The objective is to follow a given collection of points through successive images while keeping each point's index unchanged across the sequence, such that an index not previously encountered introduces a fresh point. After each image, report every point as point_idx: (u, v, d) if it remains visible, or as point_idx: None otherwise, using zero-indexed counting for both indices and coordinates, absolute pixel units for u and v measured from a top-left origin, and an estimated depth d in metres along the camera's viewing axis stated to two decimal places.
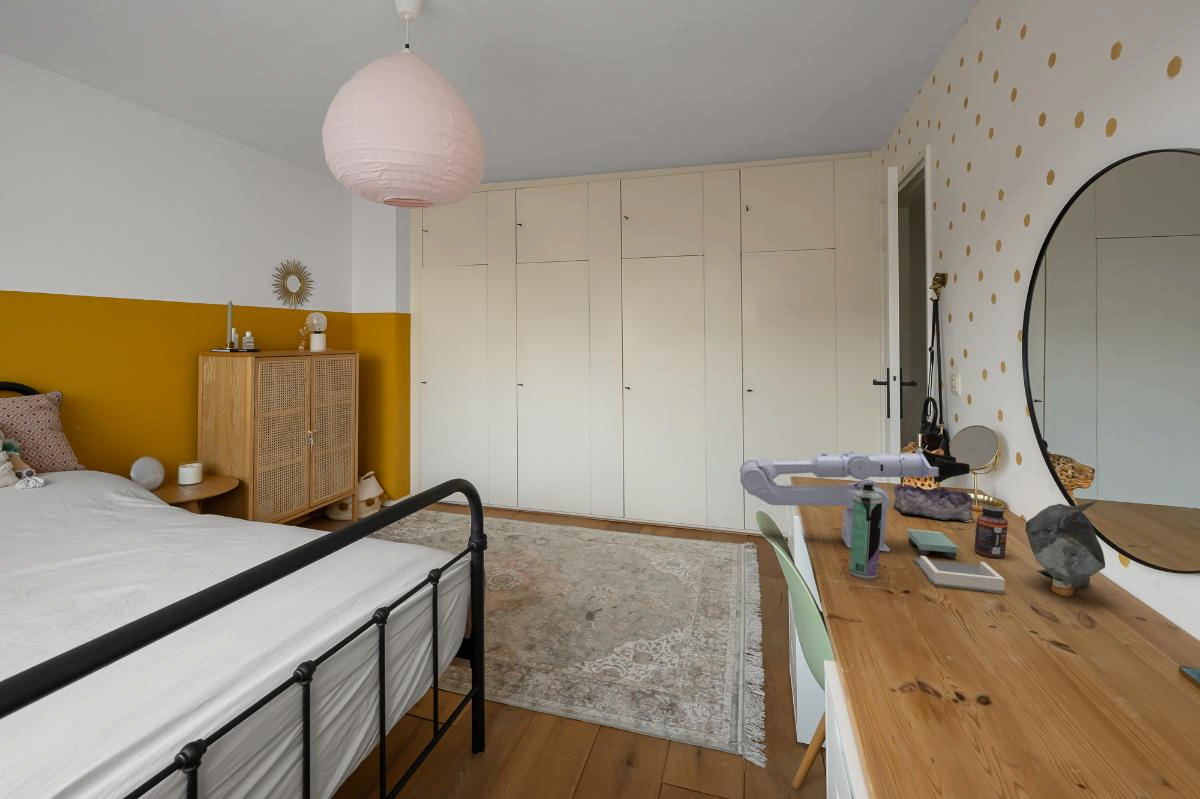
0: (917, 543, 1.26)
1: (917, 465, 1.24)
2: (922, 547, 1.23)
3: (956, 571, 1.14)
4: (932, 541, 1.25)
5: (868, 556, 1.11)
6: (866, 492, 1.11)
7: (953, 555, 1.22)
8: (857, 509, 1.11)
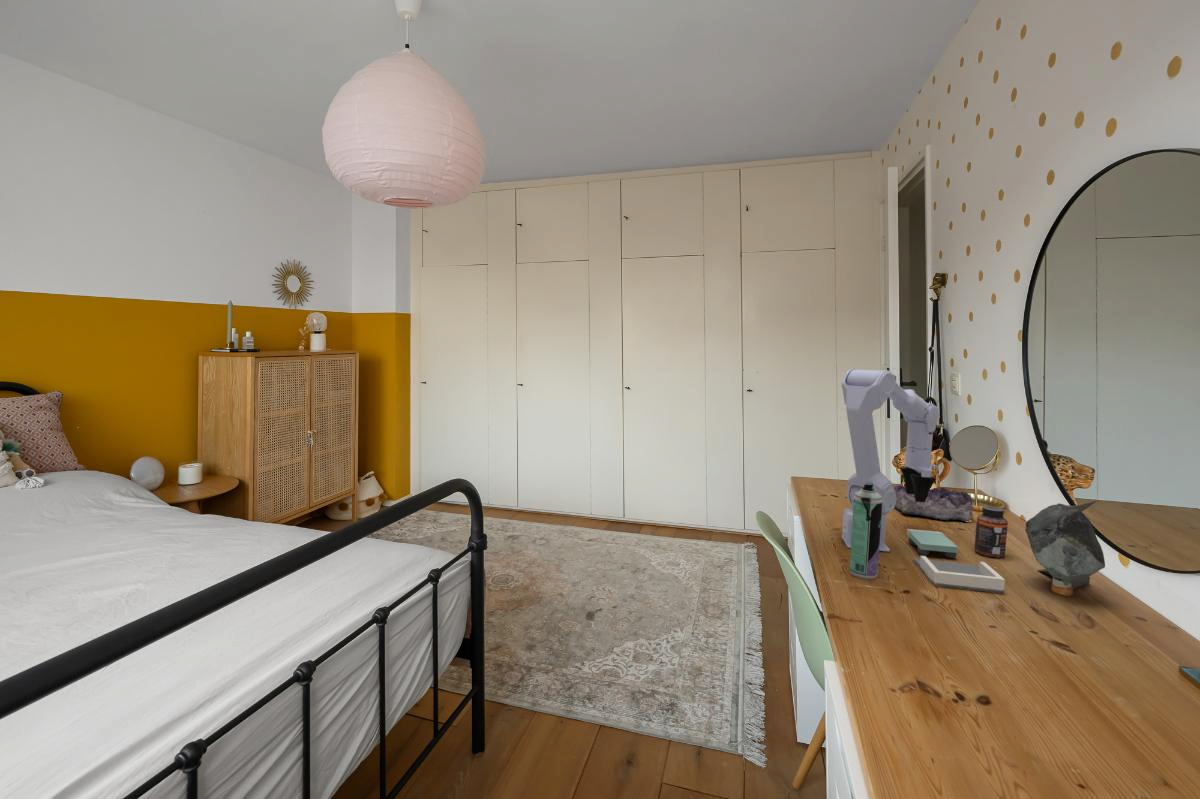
0: (917, 543, 1.26)
1: (923, 462, 1.36)
2: (922, 547, 1.23)
3: (956, 571, 1.14)
4: (932, 541, 1.25)
5: (868, 556, 1.11)
6: (866, 492, 1.11)
7: (953, 555, 1.22)
8: (857, 509, 1.11)
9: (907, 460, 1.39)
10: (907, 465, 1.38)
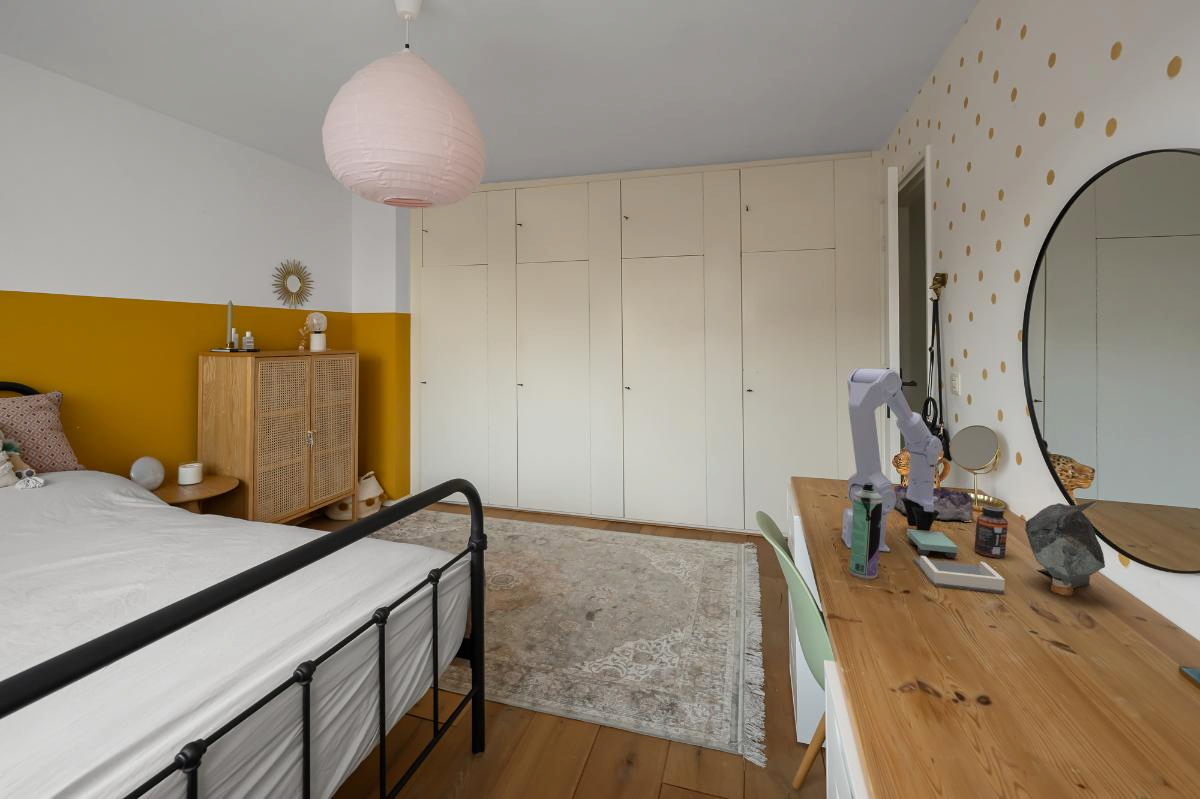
0: (917, 543, 1.26)
1: (926, 495, 1.33)
2: (922, 547, 1.23)
3: (956, 571, 1.14)
4: (932, 541, 1.25)
5: (868, 556, 1.11)
6: (866, 492, 1.11)
7: (953, 555, 1.22)
8: (857, 509, 1.11)
9: (909, 492, 1.36)
10: (909, 498, 1.36)
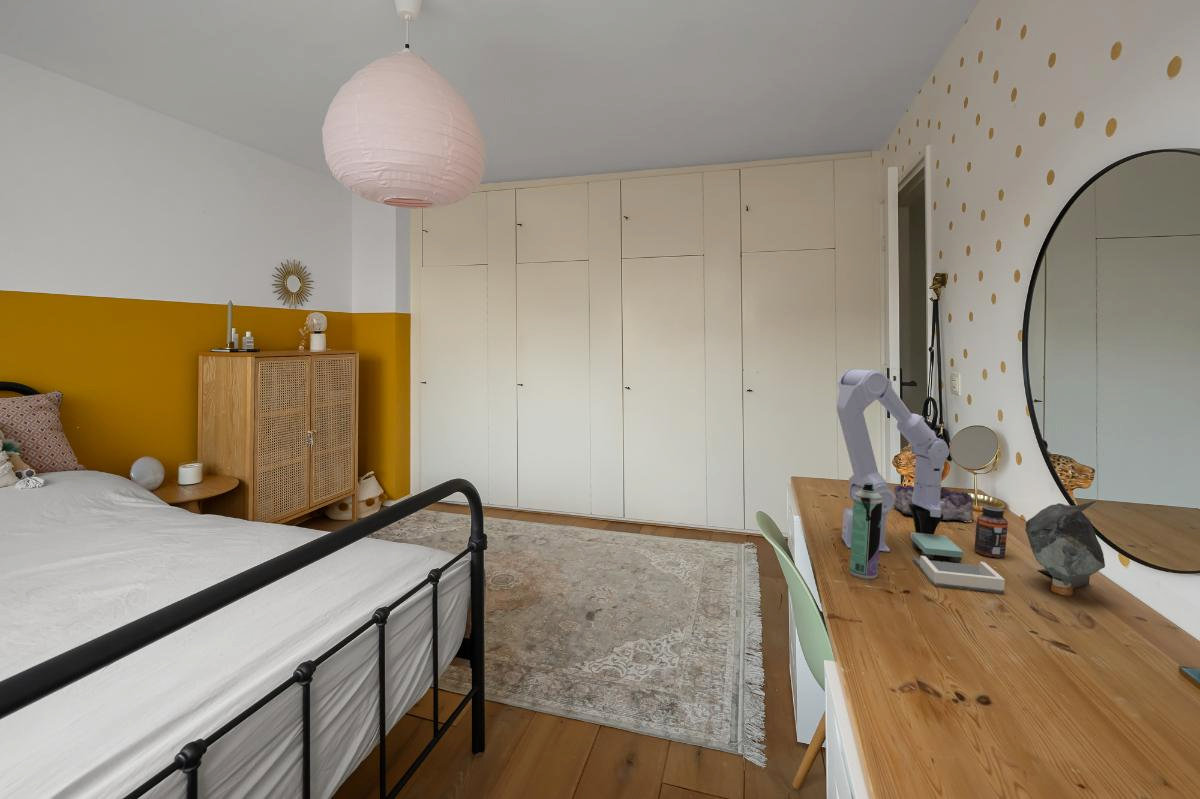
0: (921, 547, 1.23)
1: (932, 500, 1.29)
2: (926, 551, 1.21)
3: (956, 571, 1.14)
4: (937, 545, 1.22)
5: (868, 556, 1.11)
6: (866, 492, 1.11)
7: (958, 560, 1.19)
8: (857, 508, 1.11)
9: (915, 497, 1.32)
10: (915, 502, 1.31)
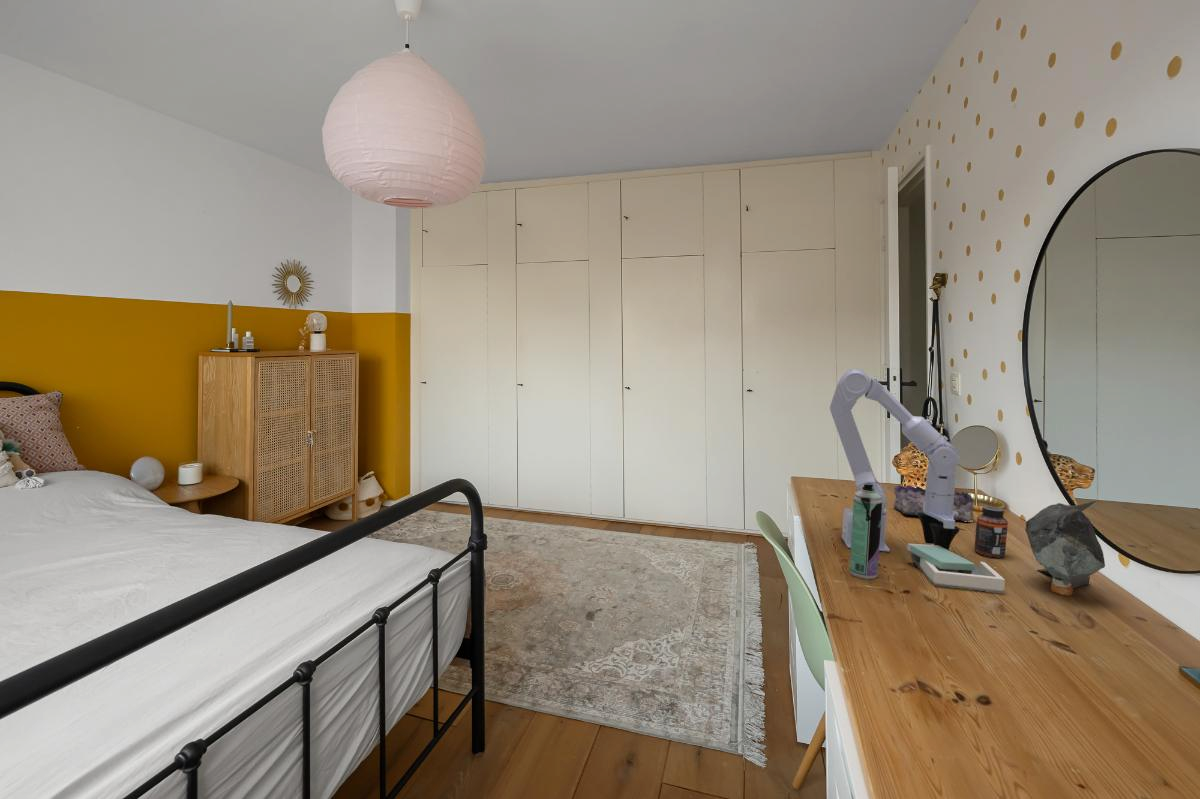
0: (932, 561, 1.12)
1: (945, 510, 1.21)
2: (942, 566, 1.09)
3: (956, 571, 1.14)
4: (947, 558, 1.12)
5: (868, 556, 1.11)
6: (866, 492, 1.11)
7: (970, 573, 1.10)
8: (857, 509, 1.11)
9: (926, 507, 1.24)
10: (926, 512, 1.23)
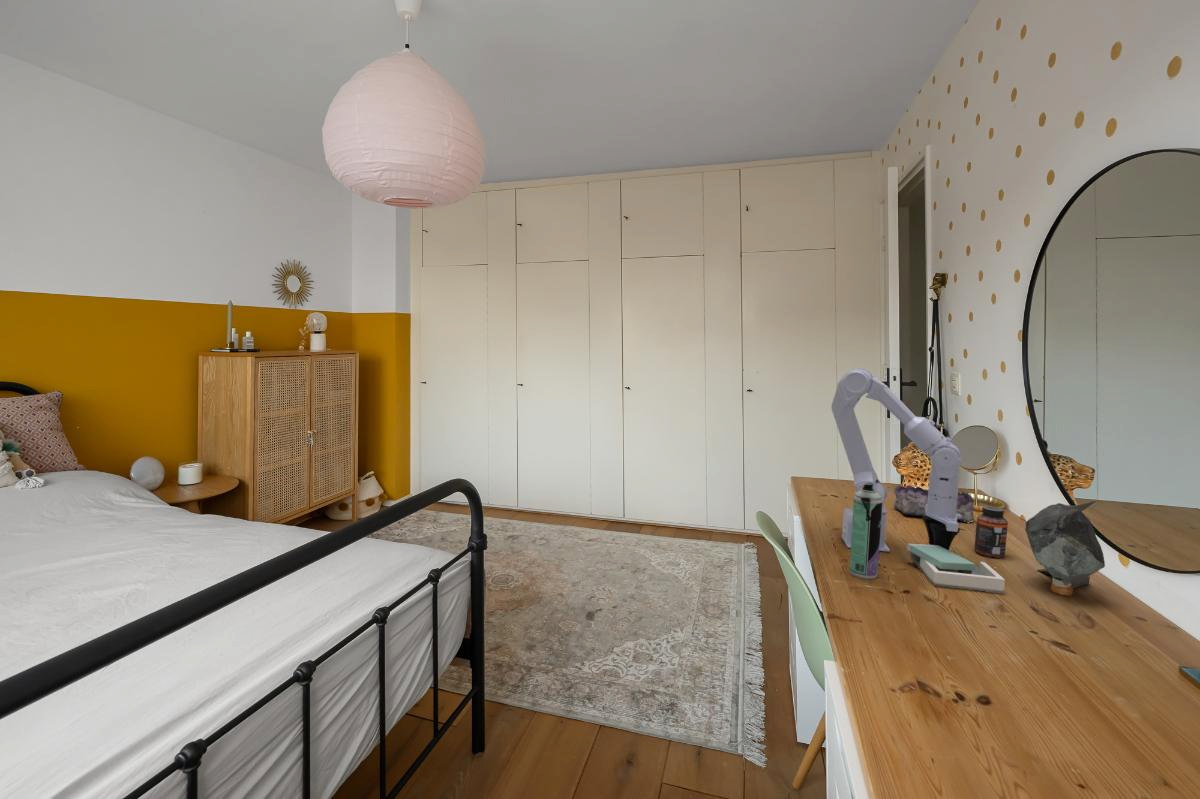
0: (932, 561, 1.12)
1: (948, 512, 1.19)
2: (942, 566, 1.09)
3: (956, 571, 1.14)
4: (947, 558, 1.12)
5: (868, 556, 1.11)
6: (866, 492, 1.11)
7: (970, 573, 1.10)
8: (857, 508, 1.11)
9: (929, 509, 1.22)
10: (929, 515, 1.22)
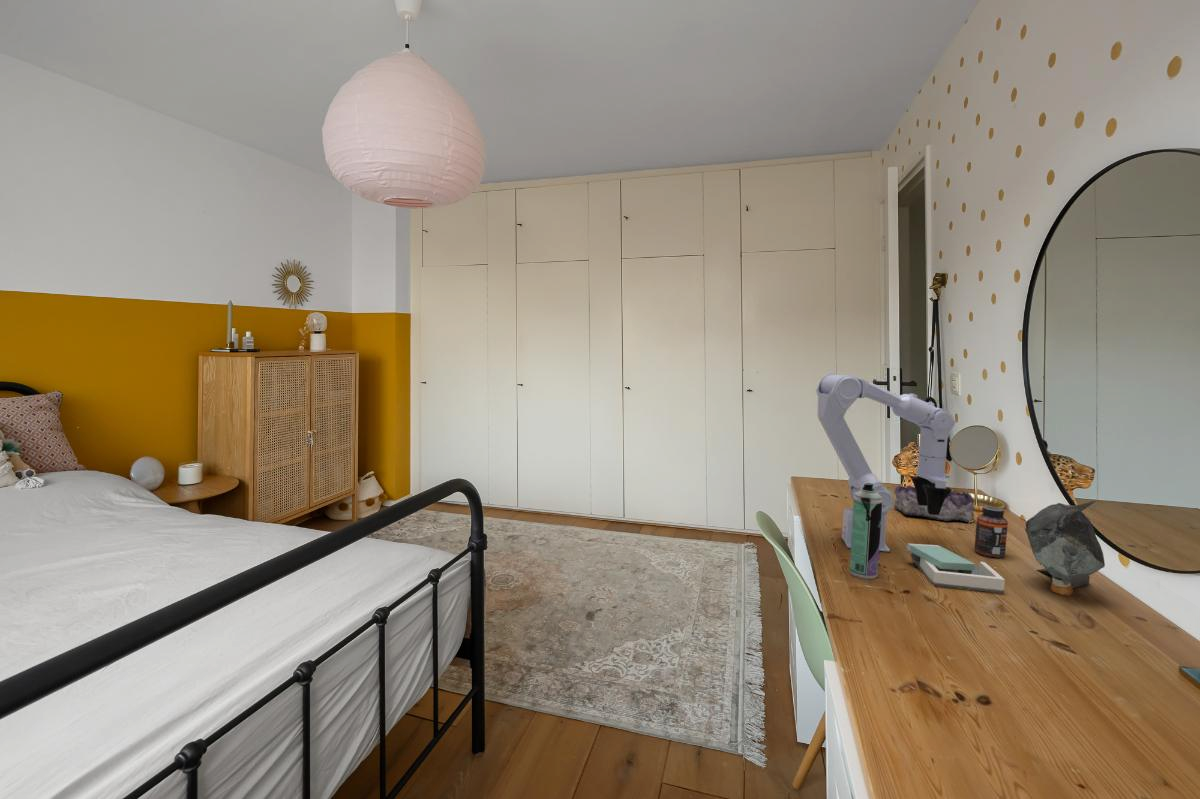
0: (932, 561, 1.12)
1: (937, 472, 1.26)
2: (942, 566, 1.09)
3: (956, 571, 1.14)
4: (947, 558, 1.12)
5: (868, 556, 1.11)
6: (866, 492, 1.11)
7: (970, 573, 1.10)
8: (857, 509, 1.11)
9: (919, 469, 1.29)
10: (919, 475, 1.29)
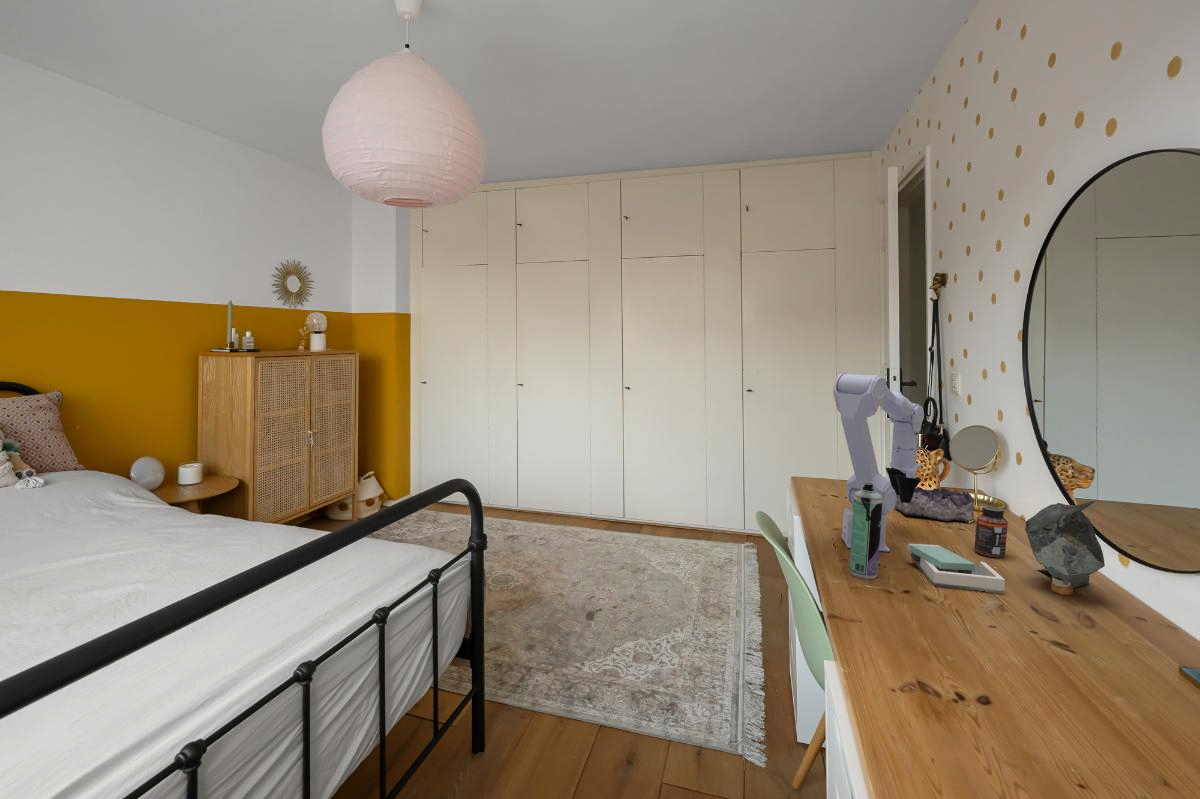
0: (932, 561, 1.12)
1: (909, 463, 1.35)
2: (942, 566, 1.09)
3: (956, 571, 1.14)
4: (947, 558, 1.12)
5: (868, 556, 1.11)
6: (866, 492, 1.11)
7: (970, 573, 1.10)
8: (857, 509, 1.11)
9: (892, 461, 1.38)
10: (892, 466, 1.38)
